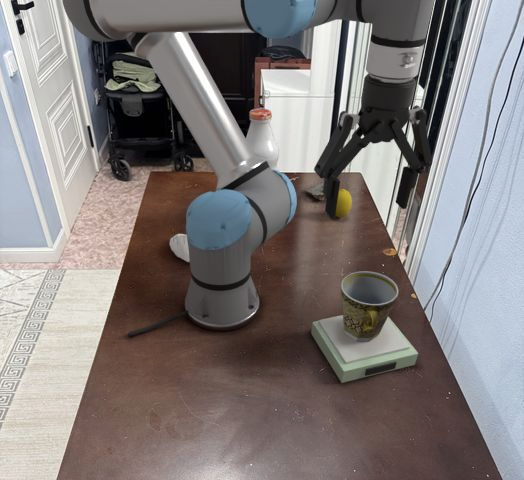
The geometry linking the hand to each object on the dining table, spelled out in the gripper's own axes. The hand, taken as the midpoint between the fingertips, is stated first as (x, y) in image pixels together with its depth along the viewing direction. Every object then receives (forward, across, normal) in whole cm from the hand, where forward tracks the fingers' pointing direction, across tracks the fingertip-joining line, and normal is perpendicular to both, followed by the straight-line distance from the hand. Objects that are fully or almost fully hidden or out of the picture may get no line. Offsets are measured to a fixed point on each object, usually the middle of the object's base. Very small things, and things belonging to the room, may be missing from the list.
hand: (366, 210), depth 86 cm
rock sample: (+24, +14, +51) cm, 58 cm away
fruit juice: (+24, -8, +39) cm, 46 cm away
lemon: (+24, +14, +38) cm, 47 cm away
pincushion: (+24, -29, +32) cm, 49 cm away
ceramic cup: (+20, -2, -11) cm, 23 cm away
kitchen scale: (+23, -2, -11) cm, 26 cm away
